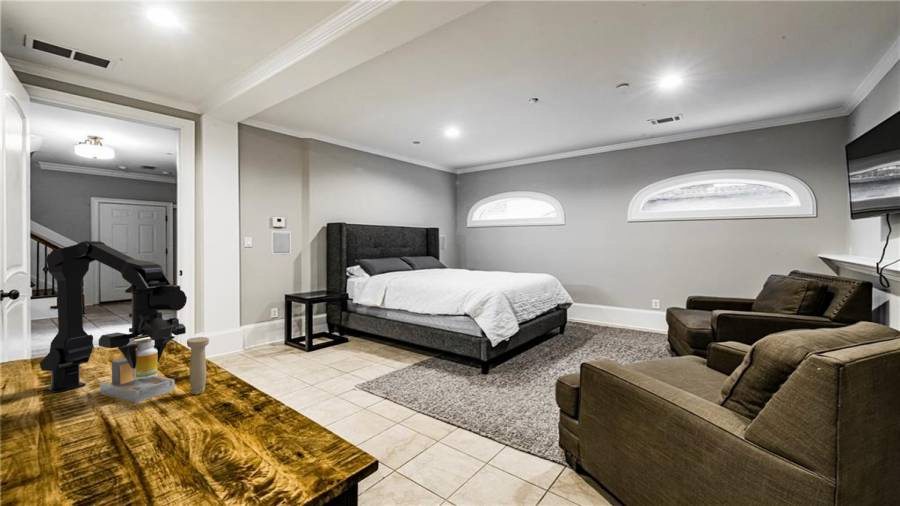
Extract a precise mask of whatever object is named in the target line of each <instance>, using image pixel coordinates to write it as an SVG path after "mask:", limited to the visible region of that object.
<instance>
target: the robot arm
mask: <svg viewBox="0 0 900 506" xmlns="http://www.w3.org/2000/svg"><path fill="white" fill-rule="evenodd" d="M96 261H97V262H99V263H101V264H103V265H105V266H107V267H109V268H111V269H113V270H115V271H116V272H117V271H118V272H119V273H120V275H121V277H122V279H124V280H125V281H126V282H127V283H129V285H130V286H128V288H126V290H124V292H125V293H126V294H128V293H129V294H131V312H130V313H128V317H129V318H131V327H129V328H128V333H122V332H113V333H107V334H106V333H105V334H102V335H101V336H100V337H99V339H98V347H102V348H109V349H117V348H118V350H119V351H120V352H121V353H122V356H124V358H126V360H127V361H128V363H129V365H130V366H131V368H132V369H135V368H136V350H137V346H138V344H136V343H135V340H140V339H147V338H150V340H154V341H155V345H154V347H155V348H157V350H158V363H159V362H160V359H161V358H162V355H163V353H164V350H165V348H166V346H167V344H168V343H169V342H170V341H171V340H173V339H175V338H176V336H180V335H185V334H186V333H187V329H186V328H187V327H186V326H185V325H184V323H180V319H179V318H178V317H171V318H168V319H164V318H163V314H162V312H161V311H171V312H172V311H173V312H174V311H175V312H176V311H181V310H182V309H183V308H185V306H186V304H187V300H188V298H187V295H186V293H185V292H184V290H182V289H181V285H173V284H172V283H171V281H170V279H169V278H168V276H167V275H166V273H165V272H164V270H163V267H162V266H161V264H159V263H154V262H151V261H147V260H141V259H136V258H134V257H131V256H129V255H127V254H126V253H123V252H122V251H118V250H117V249H115V248H113V247H111V246H109V245H106V243H105V242H102V241H100V240H95V241H94V240H84V241H81V242H78V243H77V244H74V245H70V246H69V245H68V246H65V247H62V248H59V249H54V250H51V251H50V253H48V254H47V256H46V264H47V271H48V273H49V275H51V276H52V277H53V278H54V279H55V280H56V287H57V289H56V290H57V291H56V292H57V293H56V295H57V298H56V299H57V323H58V324H57V325H58V327H57V328H58V330H57V333H56V335H55V336H54V337H53V339H52V340H51V342H50V346H49V352H48V353H47V355H46V356H45V357H44V358H43V359H42V360H41V361H40V362H39V367H40V370H41V371H45V372H50V373H51V374H50V375H51V377H50V383H51V385H50V386H48V387H45V388H44V390H45V391H48V392H53V393H56V394H57V393H61V392H66V391H69V390H70V391H71V390H72V389H76V388H80V387H84V386H86V384H87V383H85V382H82V381H81V380H80V378H81V377H80V376H81V375H80V366H81V365H82V364H86V363H89V362H90V361H89V360H90V357H91V355H92V353H93V349H94V348H95V347H94V336H93V335H92V334H88V333H87V332H86V330H84V323H83V321H84V319H83V316H84V315H83V289H82V288H83V287H82V285H83V284H82V283H83V279H84V277H85V276H86V275H87V273H88V272H89V269H90V263H93V262H96Z"/></svg>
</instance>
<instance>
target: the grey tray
mask: <svg viewBox="0 0 900 506" xmlns="http://www.w3.org/2000/svg"><path fill="white" fill-rule="evenodd" d="M175 384H176V383H175V379H173V378H168V377H163V376H158V375H156V376H154V377H151V378H146V379H134V378H133V369H132V368H131V366H130V365H129V363H128V361H127V360H126V358H125V357H124V358H120V359H116V360H113V361H112V360H111V383H109V382H105V381H102V382H100V383H99V394H100V395H104V396H108V397H112V398H116V399H118V400H119V399H120V400H123V401H127V402H130V403H131V402H132V403H134V404H138V403H141V402H143V401H146V400H150V399H152V398H155V397H157V396H158V397H159V396H162V395H164V394H167V393H170V392H172V391H173V392H174V391H175V389H176V388H175Z"/></svg>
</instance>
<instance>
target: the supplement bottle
mask: <svg viewBox="0 0 900 506" xmlns="http://www.w3.org/2000/svg"><path fill="white" fill-rule="evenodd" d="M135 344H138V346H137V348H136V368H135V369H133V378H134V379H146V378H151V377H154V376H158V374H159V372H158V370H159V368H158V363H159V362H158V350H157V348H155V347H154V345H155V341H154V340H152V339H143V340H138V341H136V343H135Z"/></svg>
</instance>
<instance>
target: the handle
mask: <svg viewBox="0 0 900 506" xmlns="http://www.w3.org/2000/svg"><path fill="white" fill-rule="evenodd" d="M209 343H210V338H209V337H206V336H205V337H204V336H199V337H197V336H195V337H190V338H188V339H187V340H186V345H187V347H188V348H190V362H189V363H190V364H189V386H190V394H191V395H201V394H203V393H204V392H205V391H206V382H207V361H206V346H209Z"/></svg>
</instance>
